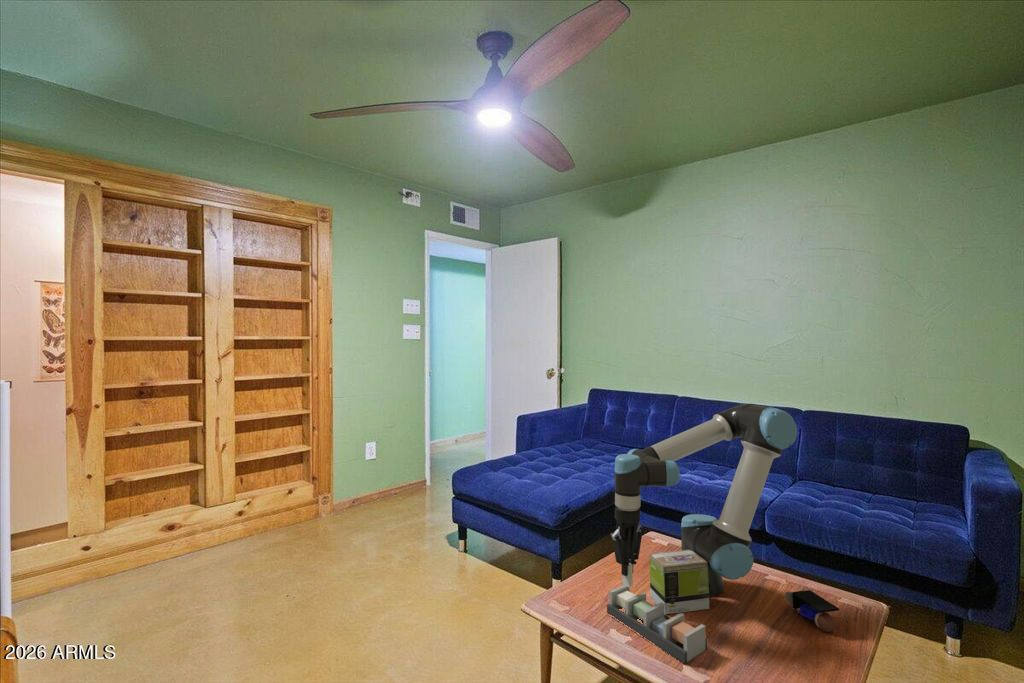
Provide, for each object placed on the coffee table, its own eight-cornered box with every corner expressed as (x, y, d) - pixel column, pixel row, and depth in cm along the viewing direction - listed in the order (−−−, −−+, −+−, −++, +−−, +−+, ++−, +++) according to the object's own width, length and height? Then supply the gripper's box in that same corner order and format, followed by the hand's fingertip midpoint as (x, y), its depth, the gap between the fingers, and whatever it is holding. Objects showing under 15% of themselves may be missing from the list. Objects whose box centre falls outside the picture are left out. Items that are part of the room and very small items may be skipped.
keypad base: (629, 604, 148) (629, 582, 148) (707, 650, 126) (707, 624, 126) (606, 614, 143) (606, 592, 143) (684, 664, 121) (684, 638, 121)
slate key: (662, 626, 135) (662, 617, 135) (675, 634, 131) (675, 624, 131) (651, 632, 132) (651, 622, 132) (665, 640, 129) (665, 630, 129)
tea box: (691, 593, 155) (691, 548, 155) (710, 610, 145) (709, 562, 145) (649, 598, 152) (648, 552, 152) (664, 615, 142) (664, 566, 142)
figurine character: (784, 612, 147) (821, 636, 132) (782, 586, 148) (819, 607, 133) (803, 610, 148) (843, 634, 133) (801, 585, 148) (840, 605, 134)
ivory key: (626, 599, 146) (626, 590, 146) (638, 605, 142) (638, 596, 142) (616, 603, 143) (616, 594, 143) (628, 610, 139) (628, 601, 139)
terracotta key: (682, 631, 130) (682, 621, 130) (697, 640, 126) (697, 629, 126) (671, 637, 127) (671, 626, 127) (686, 646, 123) (686, 635, 123)
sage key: (643, 609, 140) (643, 599, 140) (656, 616, 137) (656, 606, 137) (633, 614, 138) (633, 604, 138) (645, 621, 134) (645, 611, 134)
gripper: (632, 499, 149) (632, 573, 149) (603, 507, 142) (603, 586, 142) (651, 506, 143) (651, 583, 143) (622, 515, 136) (622, 597, 136)
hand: (627, 584), depth 142 cm, fingers closed
